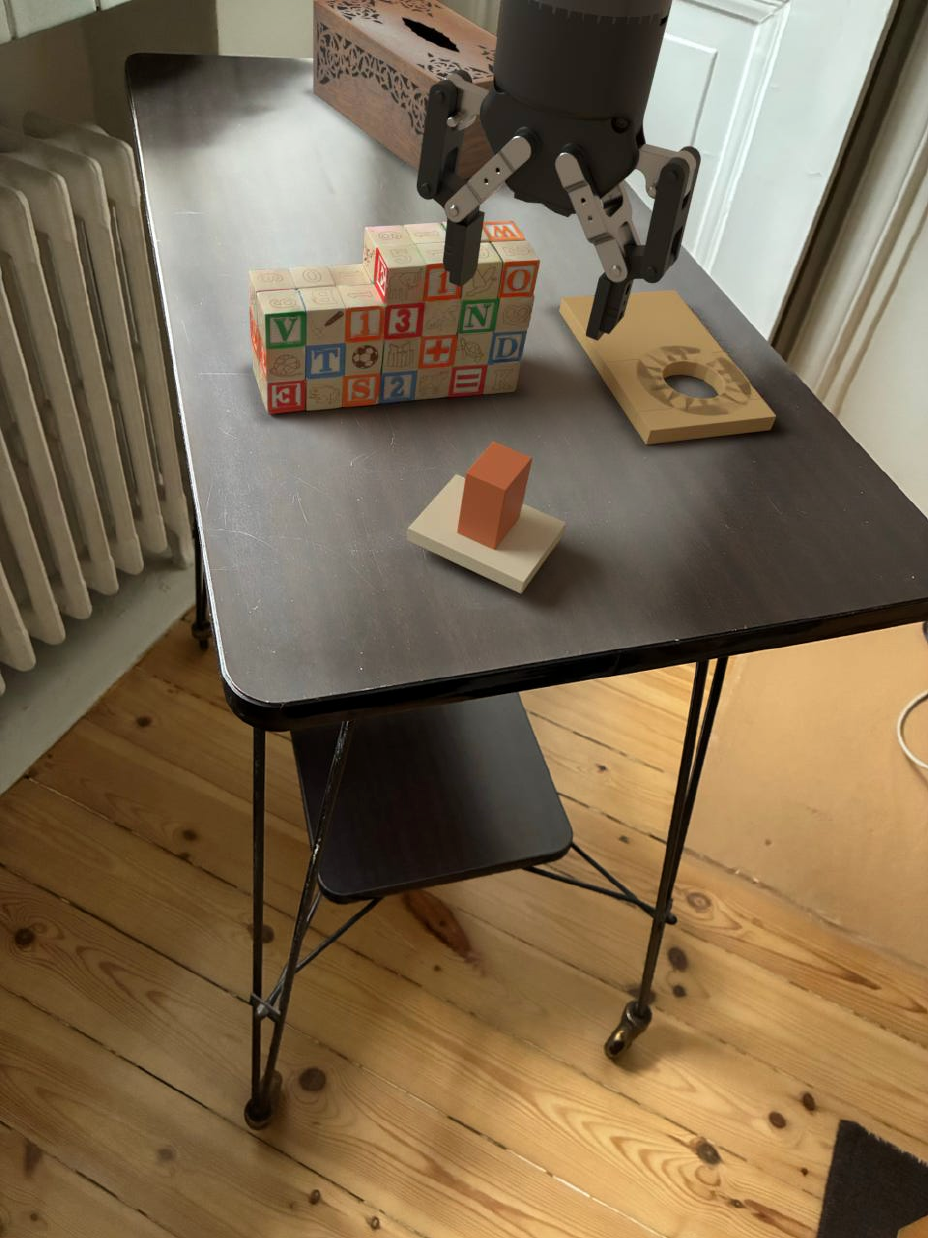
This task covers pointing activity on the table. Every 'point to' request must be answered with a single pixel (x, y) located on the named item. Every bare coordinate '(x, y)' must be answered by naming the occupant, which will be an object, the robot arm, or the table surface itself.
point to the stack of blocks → (393, 322)
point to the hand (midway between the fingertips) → (529, 305)
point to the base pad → (668, 370)
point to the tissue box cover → (398, 69)
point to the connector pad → (478, 557)
